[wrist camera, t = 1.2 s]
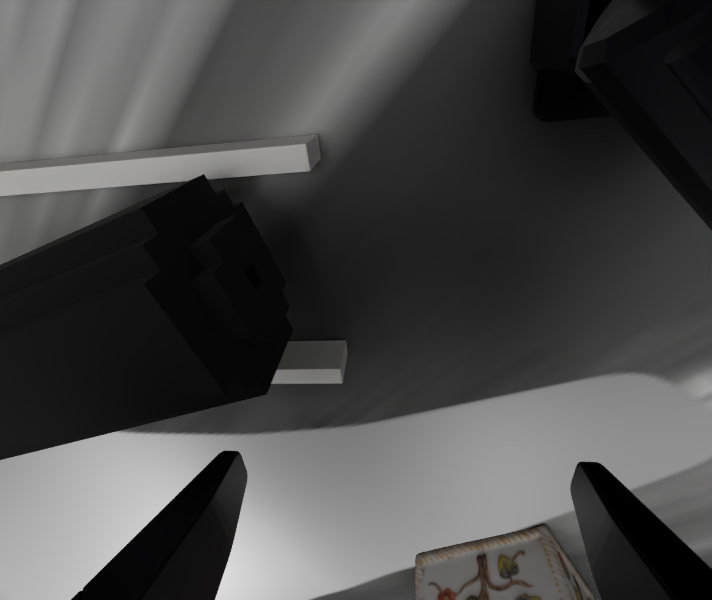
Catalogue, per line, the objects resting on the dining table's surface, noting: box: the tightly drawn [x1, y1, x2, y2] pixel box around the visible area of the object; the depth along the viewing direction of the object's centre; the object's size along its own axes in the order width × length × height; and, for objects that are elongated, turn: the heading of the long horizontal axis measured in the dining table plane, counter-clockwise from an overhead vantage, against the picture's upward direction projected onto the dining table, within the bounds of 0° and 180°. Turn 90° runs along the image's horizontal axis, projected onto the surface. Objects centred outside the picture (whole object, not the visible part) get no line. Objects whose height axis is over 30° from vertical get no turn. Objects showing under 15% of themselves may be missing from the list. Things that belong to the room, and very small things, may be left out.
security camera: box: [0, 174, 293, 460], centre depth 17 cm, size 7×18×10 cm, turn 112°
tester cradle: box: [0, 134, 348, 384], centre depth 19 cm, size 24×12×5 cm, turn 95°
